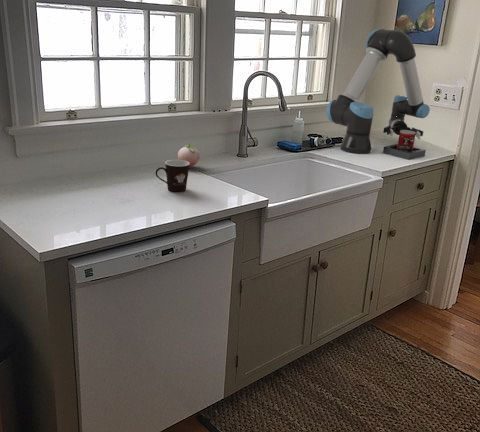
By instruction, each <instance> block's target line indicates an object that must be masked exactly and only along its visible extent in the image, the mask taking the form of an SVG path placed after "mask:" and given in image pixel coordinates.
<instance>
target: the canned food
mask: <svg viewBox="0 0 480 432" xmlns="http://www.w3.org/2000/svg"><path fill="white" fill-rule="evenodd" d="M415 139H416V132H414V131H410V130H400V134H399V135H398V139H397V140H398V141H397V144H398V145H397V149H399V150H402V151H406V152H411V151H413V147H414V146H415V145H414V144H415V141H416V140H415Z"/></svg>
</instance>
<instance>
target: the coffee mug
mask: <svg viewBox="0 0 480 432" xmlns="http://www.w3.org/2000/svg"><path fill="white" fill-rule="evenodd" d="M164 164H165V167H158V168H156V170H155V176H156V177H157V179H159V181H162V182H164V183H165V184H167V185H166V186H167V190H168V192H170V193H175V194H177V193H178V194H180V193H184V192H186V189H187V185H188V178H189V171H190V170H189V169H190V168H189V165H190V163H189V162H187V161H184V160H179V159H171V160H169V159H168V160H166V161H165V162H164ZM160 170H163V171H164V172H165V175H166V176H165V177H166V180H165V179H163V178H161V177H159V175H158V172H159V171H160Z"/></svg>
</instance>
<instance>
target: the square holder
mask: <svg viewBox="0 0 480 432" xmlns="http://www.w3.org/2000/svg"><path fill="white" fill-rule="evenodd" d="M397 145H398V143H397V144H391V145H386V146H383V149H382V153H383V154H385V155H389V156H393V157H397V158H401V159H403V160H407V161H408V160H414V159H418V158H422V157H425V156H426V153H427V152H426V151H427V150H426V149H424V148H419V147H417V146H416V147H415V146H413V151H411V152H406V151H402V150H399V149H397Z"/></svg>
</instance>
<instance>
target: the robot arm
mask: <svg viewBox="0 0 480 432" xmlns="http://www.w3.org/2000/svg"><path fill="white" fill-rule="evenodd" d="M365 46H366V47H365V52H366V53H365V56H364V57H363V59H362V61H361V63H360V64H359V66H358V67H357V70H356V71H355V73H354V75H353V76H352V78H351V80H350V82H348V85H347V86H346V88H345V90H344V92H343V93H340V94H339V95H338V96H337V98H336V99H333V100H331V101H330V102H329V103H328V104H327V107H326V116H327V118H328V120H329V121H330V122H331V123H334V124H336V125H340V126H343V127H346V131H345V132H346V134H345V135H344V138H343V139H342V142H341V145H340V150H342V151H344V152H346V153H352V154H360V155H362V154H364V155H365V154H371V151H372V144H371V143H372V142H371V138H370V136H371V129H372V128H371V127H372V123H373V119H374V118H373V117H374V107H373V106H372V105H371V104H369V103H365V102H362V101H360V98H361V97H362V95H363V93H364V92H365V91H366V88H367V87H368V85H369V83H370V82H371V80H372V78H373V76H374V75H375V73H376V71H377V70H378V67H380V64H381V62H384V61H386V60H387V58H388V56H389V55H393V56H394V57H395V61H396V62H397V63H399V69H400V72H401V77H402V82H403V84H404V89H405V93H406V95H403V96H400V95H401V94H400V95H399V94H398V95H397V94H396V95H395V96H394V97H393V102H392V108H391V114H390V118H389V121H388V126H385V127H383V132H382V133H384V134H385V133H386V135H387V136H390V137H393V136H394V134H396V135H397V136H399V134H400V130H410V131H414V132H416V135H415V138H417V139H421V137H423V136H424V131H423V130H421V129H418V128H415V127H410V126H408V124H407V123H406V121H405V118H404V117H405V116H406V115H407V116H411V117H415V118H418V119H425V118H427V117H428V116H429V114H430V105H428V104H426V103H424V98H423V94H422V89H421V85H420V84H421V83H420V79H419V75H418V71H417V70H418V69H417V65H416V60H415V58H416V50H415V46H414V44H413V42H412V40H411V38H410V37H409V35H407V34H406V33H405V32H404V31H403V30H396V29H393V30H392V29H385V28H378V29H377V28H376V29H375V30H372V31H371V32H370V33H369V34H368V36H367V38H366V43H365ZM405 96H407V97H405ZM407 99H408V100H407ZM396 116H397V117H396Z"/></svg>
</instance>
